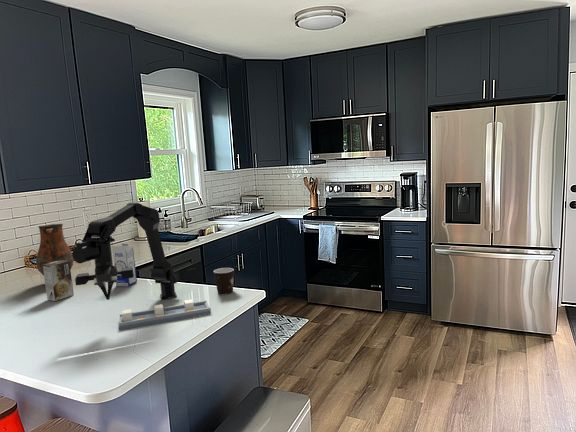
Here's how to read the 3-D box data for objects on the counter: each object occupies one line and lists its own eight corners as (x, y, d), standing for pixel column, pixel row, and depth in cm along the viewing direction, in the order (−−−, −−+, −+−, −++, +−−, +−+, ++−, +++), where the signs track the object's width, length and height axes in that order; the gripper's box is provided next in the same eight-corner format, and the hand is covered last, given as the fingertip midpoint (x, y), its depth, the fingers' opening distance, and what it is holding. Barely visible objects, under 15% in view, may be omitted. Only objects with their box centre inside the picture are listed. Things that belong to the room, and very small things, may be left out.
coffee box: (66, 293, 198) (61, 259, 196) (74, 295, 194) (70, 260, 192) (46, 299, 190) (41, 264, 188) (54, 301, 187) (50, 265, 185)
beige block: (123, 318, 156) (122, 310, 156) (132, 317, 157) (131, 309, 157) (123, 322, 153) (122, 313, 152) (132, 320, 154) (131, 312, 153)
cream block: (184, 308, 164) (183, 300, 163) (192, 307, 165) (191, 299, 164) (185, 311, 160) (185, 303, 160) (194, 310, 161) (193, 302, 161)
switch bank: (120, 320, 159) (119, 314, 159) (206, 305, 170) (206, 300, 169) (119, 329, 150) (119, 323, 149) (211, 313, 160) (210, 307, 160)
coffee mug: (226, 288, 191) (224, 266, 190) (239, 291, 186) (237, 269, 184) (205, 296, 182) (203, 273, 181) (219, 299, 177) (217, 275, 175)
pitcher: (76, 276, 229) (69, 221, 225) (75, 286, 210) (67, 225, 206) (40, 281, 222) (33, 224, 218) (36, 292, 203) (28, 229, 199)
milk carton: (116, 286, 205) (111, 245, 202) (124, 282, 211) (120, 242, 209) (129, 286, 203) (124, 245, 200) (137, 282, 210) (133, 242, 207)
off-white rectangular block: (154, 313, 160) (153, 305, 160) (163, 312, 161) (162, 304, 161) (155, 316, 156) (154, 308, 156) (163, 315, 157) (163, 307, 157)
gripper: (70, 265, 139) (76, 311, 141) (131, 257, 146) (136, 301, 148) (74, 258, 150) (80, 301, 152) (131, 251, 156) (135, 292, 158)
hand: (108, 299), depth 152 cm, fingers closed
